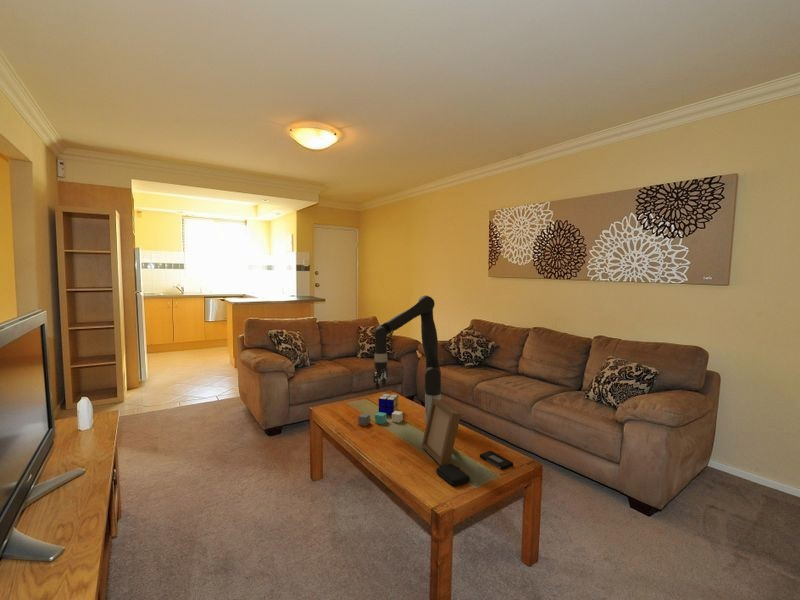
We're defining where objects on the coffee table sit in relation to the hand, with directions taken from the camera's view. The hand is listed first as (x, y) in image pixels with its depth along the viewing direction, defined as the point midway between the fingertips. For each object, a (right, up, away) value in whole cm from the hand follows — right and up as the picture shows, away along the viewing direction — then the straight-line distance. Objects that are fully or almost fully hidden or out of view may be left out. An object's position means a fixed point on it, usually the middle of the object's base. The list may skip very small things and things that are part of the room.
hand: (380, 387), depth 233 cm
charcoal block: (-10, -21, -1) cm, 23 cm away
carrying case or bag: (+35, -26, -61) cm, 75 cm away
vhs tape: (+57, -25, -47) cm, 78 cm away
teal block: (0, -21, +2) cm, 21 cm away
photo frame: (+33, -24, -40) cm, 57 cm away
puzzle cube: (+4, -20, +18) cm, 27 cm away
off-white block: (+10, -21, +4) cm, 23 cm away
